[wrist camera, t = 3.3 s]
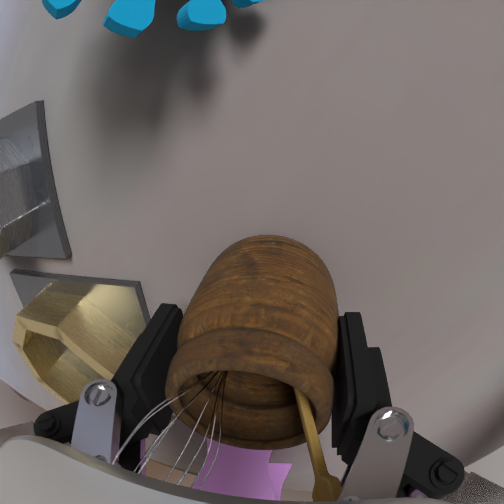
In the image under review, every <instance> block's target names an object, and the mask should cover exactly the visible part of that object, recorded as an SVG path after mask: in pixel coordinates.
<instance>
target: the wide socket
mask: <svg viewBox="0 0 504 504" xmlns="http://www.w3.org/2000/svg"><path fill="white" fill-rule="evenodd" d="M10 276H11V279H12V281H13V284H14V286H15V288H16V291H17V293H18V295H19V298H20V300H21V302H22V304H23V307H24V308H23V309H22V310H21V311H20V312H19V313H18V314H17V315H16V321H15V328H14V335H13V343H14V345H15V347H16V348H17V350H18V352H19V353H20V355H21V357H22V358H23V360H24V361H25V363H26V365H27V366H28V368H29V369H30V371H31V372H32V374H33V375H34V377H35V378H36V380H37V381H38V382H39V383H40V384H41V385H42V386H44V387H45V388H46V389H47V390H48V391H49V392H51V393H52V394H53V395H54V396H55V397H57V398H58V399H59V400H60V401H62V402H63V403H64V404H65V405H66V404H69V403H72V402H75V401H77V400H80V396H81V392H82V390H83V388H84V387H85V386H86V385H87V384H89V383H90V382H92V381H94V380H98V379H107V380H109V381H111V379H112V378H113V376H114V375H115V373H116V371H117V370H118V368H119V366H120V365H121V363H122V362H123V360H124V358H125V357H126V355H127V354H128V352H129V350H130V349H131V347H132V346H133V344H134V342H135V341H136V339H137V338H138V336H139V335H140V334H142V332H143V331H144V329H145V328H146V326H147V325H148V323H149V322H150V316H149V313H148V310H147V306H146V303H145V299H144V296H143V292H142V288H141V285H140V281H128V280H116V279H104V278H93V277H82V276H72V275H62V274H52V273H43V272H34V271H25V270H17V269H14V270H13V271H11V272H10ZM172 416H176V415H175V414H174V412H173V414H172Z"/></svg>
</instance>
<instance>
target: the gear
mask: <svg viewBox="0 0 504 504" xmlns="http://www.w3.org/2000/svg"><path fill="white" fill-rule="evenodd" d="M155 1H156V0H116V1H115V2H114V3H113V5H112V6H111V8H110V9H109V11H108V13H107V15H106V17H105V19H104V26H105V27H106V28H107V29H109V30H111V31H113V32H114V33H117V34H120V35H123V36H127V37H130V38H135V37H137V36H138V35H139V34H140V33H141V32H142V31H143V30H144V29H146V28H147V27H148V26H149V25H150V23H151V22H152V20H153V17H154V6H155ZM260 1H263V0H232V2H233V3H234V4H235V6H237V7H238V8H244V7H248V6H251V5H253V4H255V3H258V2H260ZM80 2H81V0H42V3H43V5H44V7H45V8H46V10H47V11H48V12H49V13H50V14H51V15H52V16H53V17H54V18H55V19H60V18H63V17H65V16H67V15H69V14H70V13H72V12H73V11H74V10H75V9H76V7H77V6H78V4H79V3H80ZM225 20H226V9H225V7H224V5H223V3H222V2H221V0H190V1H189V2H187V3H186V4H185V5H184V6H183V7H182V8H181V9H180V10H179V12H178V14H177V23H178V26H179V27H180V28H181V29H185V30H192V31H201V30H211V29H213V28H215V27H217V26H219V25H221V24H224V22H225Z"/></svg>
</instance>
